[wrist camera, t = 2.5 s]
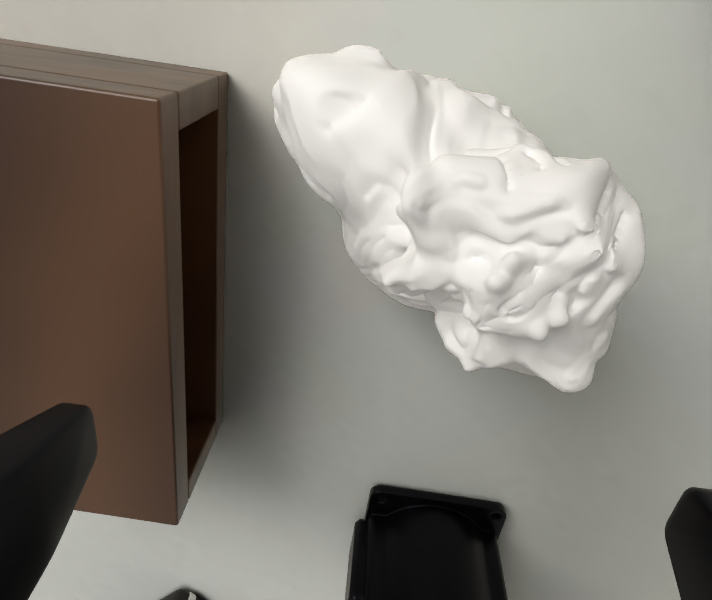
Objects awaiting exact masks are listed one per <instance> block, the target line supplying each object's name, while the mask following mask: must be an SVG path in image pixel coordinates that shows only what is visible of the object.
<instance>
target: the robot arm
mask: <svg viewBox="0 0 712 600" xmlns="http://www.w3.org/2000/svg"><path fill="white" fill-rule="evenodd" d="M97 452H98V443H97V436H96V430H95V424H94V418H93V413H92V410H91V409H90V407H88V406H86V405H80V404H73V403H60V404H57V405H55V406H53V407H51V408H50V409H48V410H46V411H44V412H42V413H40V414H38V415H36V416H34V417H32V418H31V419H29V420H27V421H25V422H23V423H21V424H19V425H17V426H15V427H14V428H12V429H10V430H8V431H6V432H4V433H2V434H0V600H28V598H29V597H30V595H31V593H32V591H33V590H34V588H35V586H36V584H37V583H38V581H39V579H40V578H41V576H42V574H43V572H44V570H45V569H46V567H47V565H48V563H49V561H50V560H51V558H52V556H53V554H54V552H55V549H56V547H57V545H58V543H59V541H60V539H61V537H62V534H63V532H64V530H65V528H66V526H67V523H68V521H69V519H70V517H71V514H72V512H73V510H74V508H75V505H76V503H77V501H78V499H79V497H80V494H81V492H82V490H83V488H84V485H85V483H86V481H87V479H88V476H89V474H90V472H91V470H92V467H93V465H94V463H95V460H96V457H97ZM378 495H381V496H378ZM505 519H506V512H505V508H504V506H503V505H502V504H500V503H497V502H491V501H484V500H477V499H471V498H464V497H457V496H451V495H444V494H437V493H431V492H424V491H417V490H411V489H404V488H397V487H391V486H384V485H377V486H374V487H373V488H372V489H371V491H370V495H369V500H368V505H367V510H366V515H365V519H359V520H358V521H357V522H355V527H354V532H353V537H352V542H351V547H350V553H349V562H348V573H347V584H346V594H345V600H508V598H507V593H506V587H505V582H504V576H503V571H502V565H501V560H500V554H499V549H498V543H497V540H498V537H499V535H500V532H501V529H502V527H503V524H504V522H505ZM665 539H666V543H667V547H668V551H669V555H670V559H671V563H672V566H673V570H674V574H675V578H676V582H677V586H678V589H679V593H680V597H681V600H712V489H704V488H697V487H691V488H688V489H687V490H685V491H684V493H683V494H682V496H681V498H680V500H679V501H678V503H677V505H676V507H675V508H674V510H673V512H672V514H671V515H670V517H669V519H668V521H667V523H666V527H665Z"/></svg>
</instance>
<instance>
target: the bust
mask: <svg viewBox="0 0 712 600" xmlns="http://www.w3.org/2000/svg"><path fill="white" fill-rule="evenodd" d="M272 98H273V101H274V120H275V123H276V126H277V129H278V131H279V134H280V136H281V138H282V140H283V142H284V144H285V147H286V149H287V150H288V152H289V154H290V155H291V157H292V158H293V159H294V160H295V161H296V162H297V163H298V166H299V169H300V171H301V173H302V175H303V177H304V179H305V181H306V183H307V184H308V185H309V186H310V187H311V188H312V189H313V191H315V192H316V193H317V194H318V195H319V196H320V197H321V198H322V199H323V200H324V201H326V202H327V203H329V204H330V205H332V206H333V207H335V208H336V211H337V213H338V214H339V216H340V218H341V220H342V222H343V227H342V231H343V235H344V236H343V242H344V245H345V248H346V250H347V253H348V255H349V257H350V259H351V260H352V262H353V263H354V264H355V265H356V266H357V267H358V269H359V271H360V272H361V273H362V274H363V275H364V276H365V277H366V278H367V279H368V280H369V281H370V282H371V283H372V284H374V285H375V286H377V287H378V288H380V289H381V290H382V291H383V292H384V293H385V294H386V295H388V296H389V297H391V298H393V299H395V300H396V301H398V302H400V303H402V304H404V305H406V306H409V307H412V308H417V309H421V310H426V311H433V312H434V313H435V324H436V327H437V329H438V331H439V333H440V336H441V337H442V339H443V341H444V345H445V347H446V349H447V350H448V351H449V352H451V353H452V354H453V355H454V356H456V357H457V358H458V360H459V361H460V362H461V364H462V367H463V369H464V370H465V371H467V372H472V371H476V370H478V369H480V368H497V367H501V368H504V369H508V370H513V371H516V372H520V373H523V374H529V375H535V376H539V377H541V378H542V379H544V380H545V381H547V382H548V383H550V384H551V385H552V386H554V387H555V388H557V389H558V390H560V391H562V392H564V393H574V392H579V391H582V390H584V389H585V388H587V387H588V386H589V384H590V383H591V381H592V379H593V376H594V370H595V364H596V362H597V361H598V360H599V359H600V358H602V357H603V356H604V355H605V354H606V353H607V351H608V348H609V345H610V341H611V337H612V333H613V329H614V325H615V321H616V310H615V309H616V307H617V305H618V303H619V302H620V300H621V299H622V298H623V297H624V296H625V294H626V293H627V292H628V291H629V290H630V288H631V287H632V286H633V285H634V283H635V282H636V280H637V279H638V277H639V275H640V273H641V271H642V268H643V264H644V261H645V233H644V226H643V221H642V215H641V211H640V209H639V207H638V205H637V203H636V202H635V200H634V199H633V197H632V196H631V195H630V194H629V193H628V192H627V191H626V190H625V189H624V188H623V187H622V185H621V183H620V181H619V179H618V177H617V175H616V173H615V172H614V171H613V170H612V168H611V166H610V164H609V162H607V161H605V160H604V159H601V158H592V159H576V158H570V157H553V156H552V154H551V153H550V152H549V150H548V149H547V148H546V146H545V145H544V143H543V142H542V141H541V140H540V139H539V138H538V137H536V136H535V135H533V134H532V133H530V132H529V131H527V130H526V129H525V128H524V127H523V126H522V125H521V124H520V122H519V120H518V119H517V118H516V117H515V116H514V114H513V112H512V110H511V109H510V107H508V106H506V105H503V104H500V103H499V101H498V100H497V98H495V97H494V96H492V95H488V94H482V93H476V92H471V91H467V90H465V89H463V88H461V87H459V86H458V85H457V84H455V83H454V82H453V81H451V80H450V79H446V78H440V79H439V78H437V77H434V76H430V75H421V74H419V73H418V72H417V71H415V70H413V69H404V70H398V69H396V68H395V67H394V66H393V65H391V64H390V63H389V62H388V61H387V59H386V58H385V57H384V55H383V54H382V53H381V52H380V51H379V50H378V49H375V48H373V47H369V46H364V45H353V46H349V47H346V48H343V49H341V50H339V51H338V52H336V53H332V54H311V55H304V56H299V57H296V58H292V59H290V60H288V61H287V62H286V64H285V65H284V67H283V69H282V71H281V74H280V77H279V80H278V81H277V82H276V83H275V85H274V87H273V89H272Z"/></svg>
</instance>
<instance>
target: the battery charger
mask: <svg viewBox="0 0 712 600" xmlns="http://www.w3.org/2000/svg"><path fill="white" fill-rule="evenodd" d="M161 600H199V599H198V598H196V595H195V594H193V593H192V592H187V591H186V590H184V589H180V590H177V591H175V592H174V593H172V594H170V595H168V596H166V597H165V598H163V599H161Z"/></svg>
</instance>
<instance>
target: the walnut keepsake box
mask: <svg viewBox="0 0 712 600" xmlns="http://www.w3.org/2000/svg"><path fill="white" fill-rule="evenodd" d="M227 77H228V74H227V73H226V72H220V71H214V70H207V69H200V68H194V67H187V66H180V65H174V64H167V63H160V62H154V61H147V60H140V59H134V58H127V57H120V56H113V55H107V54H100V53H93V52H87V51H80V50H73V49H67V48H60V47H53V46H47V45H40V44H33V43H27V42H20V41H13V40H7V39H0V434H2V433H4V432H6V431H8V430H10V429H12V428H14V427H15V426H17V425H19V424H21V423H23V422H25V421H27V420H29V419H31V418H32V417H34V416H36V415H38V414H40V413H42V412H44V411H46V410H48V409H50V408H51V407H53V406H55V405H57V404H60V403H73V404H80V405H86V406H88V407H90V409H91V410H92V413H93V418H94V424H95V430H96V436H97V443H98V452H97V457H96V460H95V463H94V465H93V467H92V470H91V472H90V474H89V476H88V479H87V481H86V483H85V485H84V488H83V490H82V492H81V494H80V497H79V499H78V501H77V503H76V505H75V508H74V510H78V511H84V512H91V513H98V514H104V515H111V516H118V517H124V518H131V519H138V520H144V521H151V522H157V523H164V524H171V525H178V523H179V521H180V519H181V516H182V514H183V512H184V509H185V507H186V505H187V502H188V499H189V498H190V496H191V493H192V491H193V489H194V486H195V484H196V482H197V479H198V477H199V475H200V472H201V470H202V468H203V465H204V463H205V461H206V458H207V456H208V454H209V451H210V449H211V447H212V444H213V442H214V440H215V437H216V435H217V433H218V431H219V428H220V426H221V424H222V405H223V339H224V273H225V208H226V142H227Z"/></svg>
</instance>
